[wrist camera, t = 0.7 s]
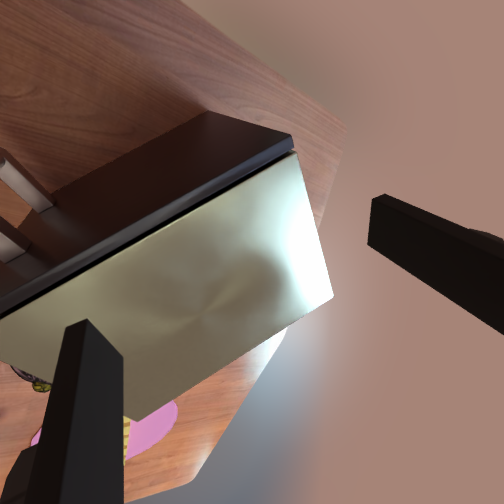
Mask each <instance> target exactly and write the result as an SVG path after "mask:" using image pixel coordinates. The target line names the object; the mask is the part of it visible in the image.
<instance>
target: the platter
mask: <svg viewBox="0 0 504 504" xmlns="http://www.w3.org/2000/svg"><path fill="white" fill-rule="evenodd" d="M176 419H177V405H176V404H175V403H174V401H173V400H172V401H170V402H169V403H167V404H166V405H164V406H162V407H161V408H159V409H158V410H156V411H155V412H153V413H152V414H150V415H148V416H147V417H145V418H144V419H142V420H141V421H139V422H136V421H134V420H132V419H129V418H127V417H125V416H124V465H125V461H126V460H127V459H130V458H132V457H134V456H136V455H138V454H140V453H141V452H143V451H145V450H147V449H149V448H150V447H151V446H153V445H154V444H156V443H157V442H158V441H160V440H161V439H162V438H163V437H164V436H165V435H166V434H167V433H168V432H169V431H170V430H171V429H172V427H173V425H174V423H175V421H176ZM41 428H42V427H41ZM40 433H41V429H40V430H39V431H38V432H37V434H36V435H35V436H34V437H33V439H32V442H31V446H33V445H35V444H37V443H38V441H39V437H40Z"/></svg>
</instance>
